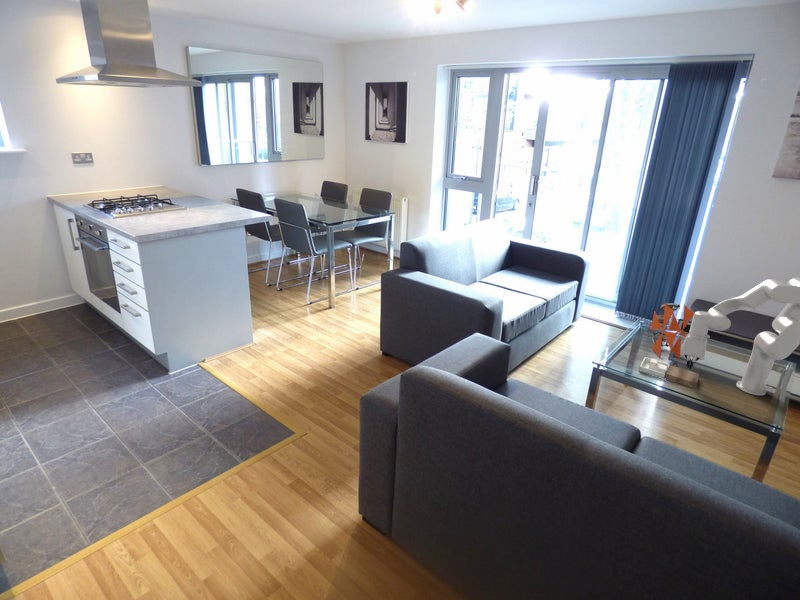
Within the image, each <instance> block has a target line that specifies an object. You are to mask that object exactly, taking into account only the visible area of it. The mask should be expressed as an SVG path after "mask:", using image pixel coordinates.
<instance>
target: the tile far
mask: <svg viewBox="0 0 800 600" xmlns="http://www.w3.org/2000/svg"><path fill="white" fill-rule="evenodd" d="M650 359H651V361H650V365H649V368H648V369H651V370H654V371H655V367H656V364H657V361H659V360H658V359H656V358H653V357H652V358H650Z"/></svg>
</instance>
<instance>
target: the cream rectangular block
mask: <svg viewBox="0 0 800 600" xmlns="http://www.w3.org/2000/svg"><path fill="white" fill-rule="evenodd" d="M666 369H667V370H668V368H667V366H665V365H662V364H658V363H657V364H656V367H655V371H658V372H661V373H664V374H665V375H666V373H667V371H666ZM665 372H666V373H665Z"/></svg>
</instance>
